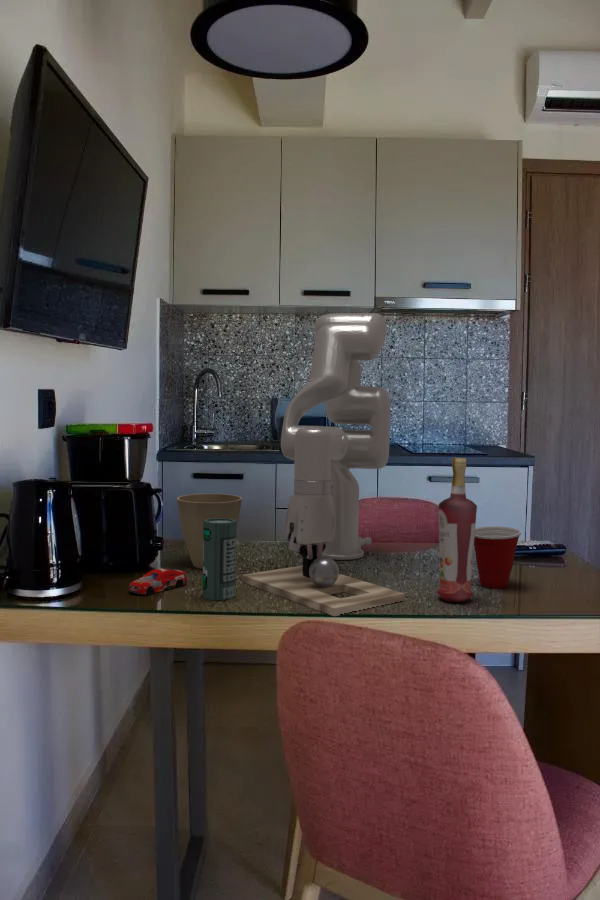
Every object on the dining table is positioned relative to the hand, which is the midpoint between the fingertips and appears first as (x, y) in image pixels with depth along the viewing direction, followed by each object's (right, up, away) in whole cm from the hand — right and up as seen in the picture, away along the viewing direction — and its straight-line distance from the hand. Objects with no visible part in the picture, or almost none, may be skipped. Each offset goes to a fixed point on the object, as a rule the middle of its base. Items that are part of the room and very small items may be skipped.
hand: (310, 576), depth 150 cm
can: (-18, -3, -8) cm, 20 cm away
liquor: (+28, -4, -7) cm, 29 cm away
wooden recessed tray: (+2, -3, -2) cm, 4 cm away
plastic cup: (+39, -3, +5) cm, 40 cm away
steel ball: (+3, +2, -5) cm, 6 cm away
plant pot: (-23, -1, +19) cm, 30 cm away
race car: (-31, -3, -2) cm, 31 cm away
